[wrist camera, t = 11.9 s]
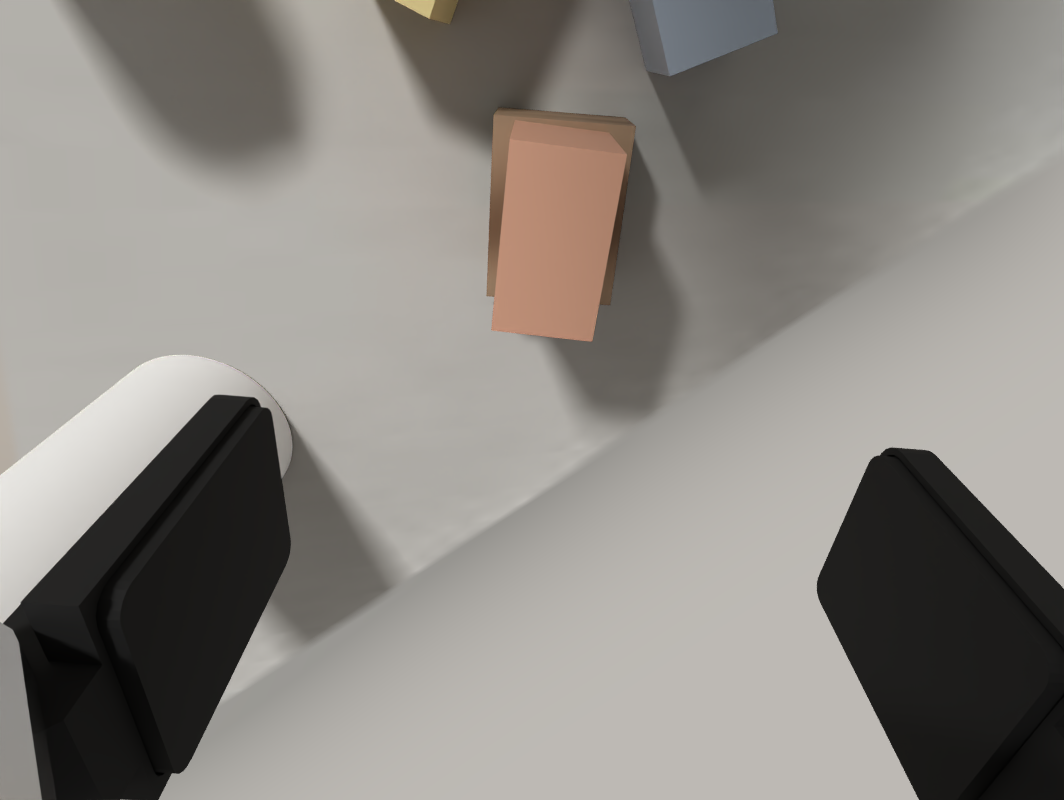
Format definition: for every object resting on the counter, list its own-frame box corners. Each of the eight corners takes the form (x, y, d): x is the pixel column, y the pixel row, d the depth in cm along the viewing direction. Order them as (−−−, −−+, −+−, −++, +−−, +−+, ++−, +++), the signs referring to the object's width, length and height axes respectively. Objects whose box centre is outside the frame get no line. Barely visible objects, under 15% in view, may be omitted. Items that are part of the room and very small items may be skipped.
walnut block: (499, 106, 29) (493, 114, 26) (624, 117, 29) (635, 126, 26) (492, 270, 33) (486, 295, 30) (602, 278, 33) (610, 305, 30)
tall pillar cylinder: (85, 360, 36) (-606, 837, 14) (263, 348, 35) (-174, 823, 14) (156, 504, 41) (-271, 1010, 20) (312, 494, 41) (51, 1005, 19)
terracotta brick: (515, 120, 26) (509, 139, 21) (609, 132, 26) (627, 154, 21) (499, 279, 29) (491, 330, 24) (582, 289, 30) (592, 341, 24)
